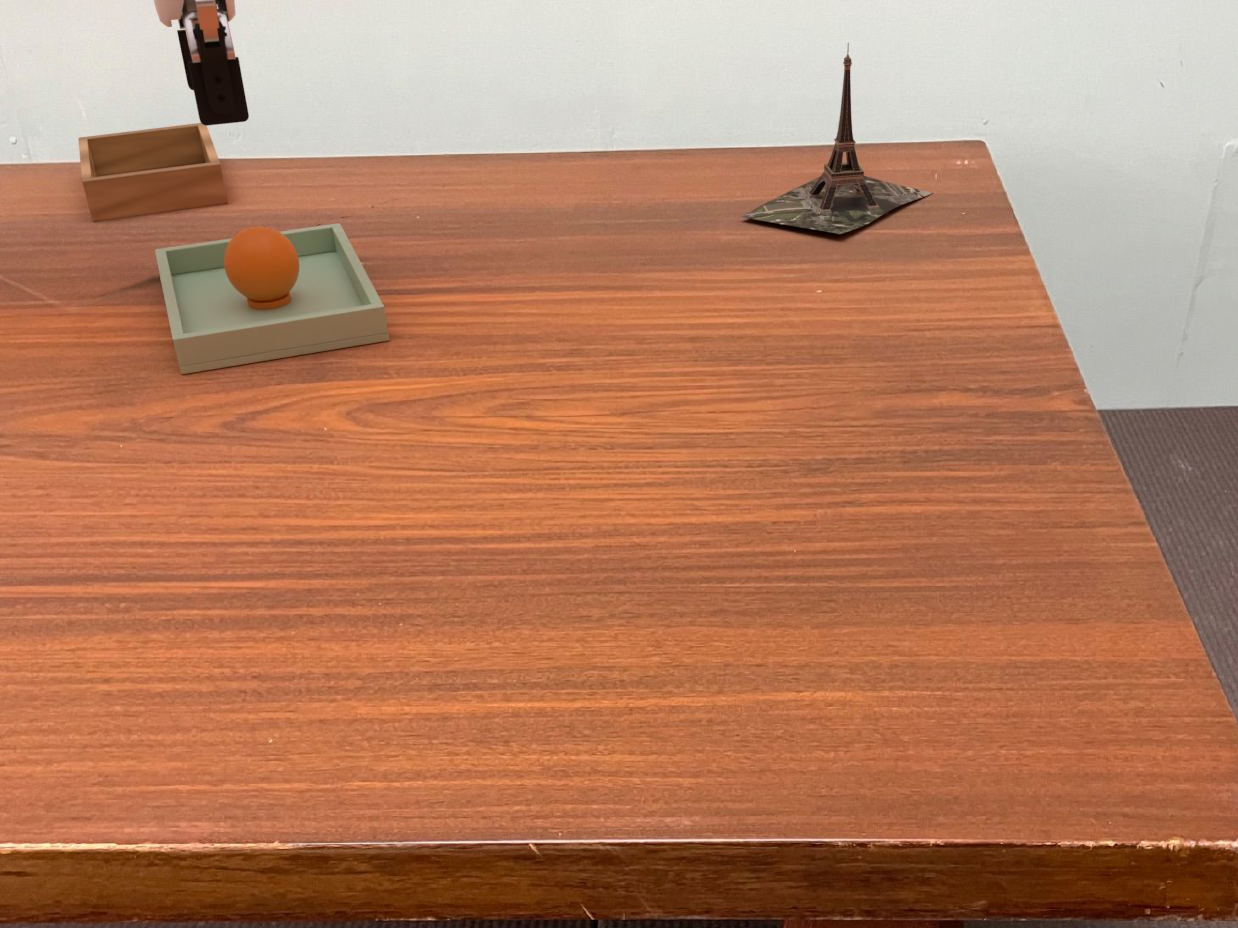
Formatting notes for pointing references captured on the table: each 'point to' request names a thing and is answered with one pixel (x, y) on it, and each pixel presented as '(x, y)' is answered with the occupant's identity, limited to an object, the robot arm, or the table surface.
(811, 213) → the eiffel tower figurine
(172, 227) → the table surface
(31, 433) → the table surface
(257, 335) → the tray
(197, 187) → the wooden box
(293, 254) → the orange
